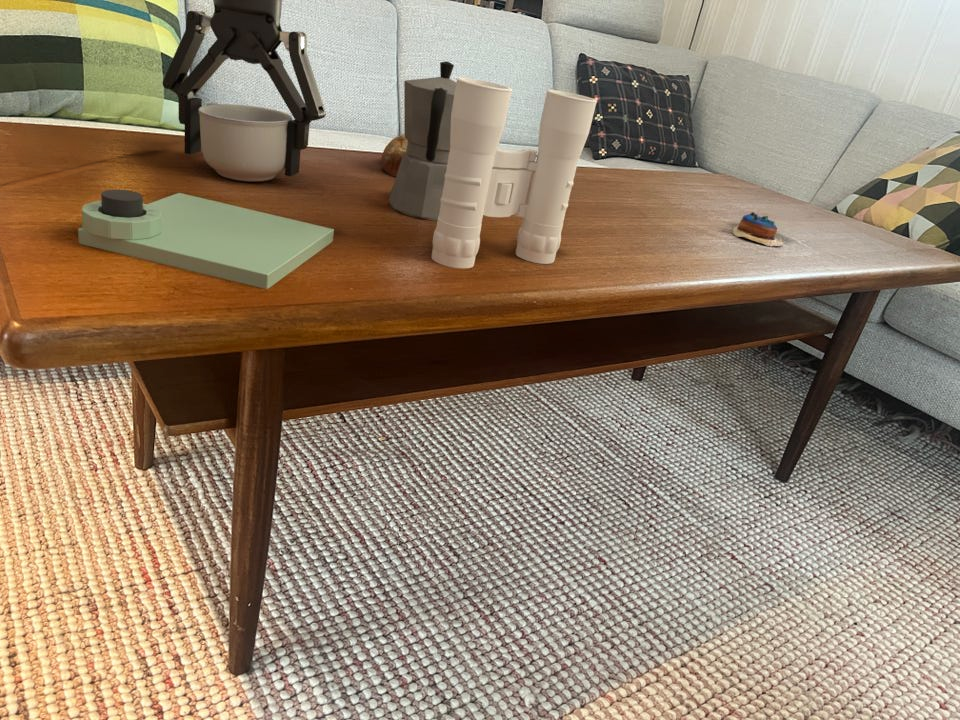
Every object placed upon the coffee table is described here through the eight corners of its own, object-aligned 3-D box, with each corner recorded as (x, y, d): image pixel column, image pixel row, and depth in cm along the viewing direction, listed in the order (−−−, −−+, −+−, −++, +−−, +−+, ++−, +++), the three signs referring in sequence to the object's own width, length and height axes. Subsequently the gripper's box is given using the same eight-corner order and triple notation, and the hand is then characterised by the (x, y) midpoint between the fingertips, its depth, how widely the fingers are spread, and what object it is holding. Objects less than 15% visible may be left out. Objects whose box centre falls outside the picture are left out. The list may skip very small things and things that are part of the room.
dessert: (724, 228, 115) (745, 198, 115) (728, 247, 121) (749, 218, 121) (770, 248, 111) (792, 217, 111) (772, 267, 117) (793, 237, 117)
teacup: (303, 187, 91) (308, 121, 88) (218, 186, 84) (219, 114, 81) (256, 162, 100) (259, 102, 97) (175, 160, 93) (175, 94, 90)
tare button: (93, 214, 62) (92, 194, 61) (116, 206, 65) (116, 187, 64) (128, 222, 62) (128, 202, 61) (150, 214, 64) (150, 195, 64)
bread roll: (417, 189, 118) (407, 139, 117) (467, 178, 112) (457, 125, 110) (375, 194, 110) (364, 140, 109) (426, 182, 104) (415, 125, 103)
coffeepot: (393, 191, 99) (413, 50, 92) (461, 204, 100) (486, 65, 92) (378, 221, 85) (400, 58, 78) (457, 235, 86) (486, 75, 78)
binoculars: (537, 248, 88) (572, 92, 80) (567, 264, 84) (607, 102, 77) (417, 253, 77) (445, 75, 70) (446, 271, 74) (479, 85, 66)
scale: (67, 244, 62) (65, 210, 60) (173, 204, 77) (174, 176, 75) (264, 292, 60) (266, 258, 59) (332, 242, 75) (335, 214, 74)
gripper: (362, -4, 85) (345, 178, 94) (165, -43, 87) (167, 139, 96) (341, -7, 78) (324, 189, 88) (127, -49, 80) (133, 147, 90)
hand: (242, 163), depth 92 cm, fingers closed on teacup, 12 cm apart
